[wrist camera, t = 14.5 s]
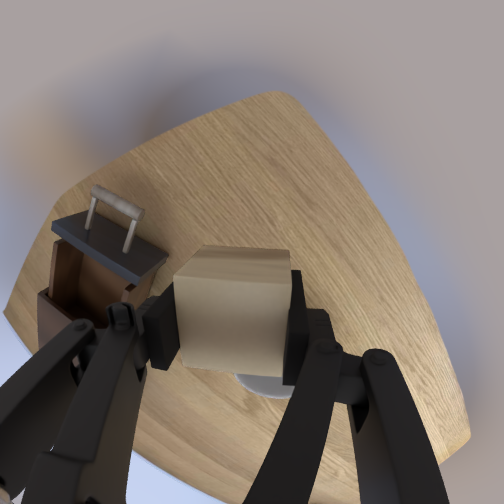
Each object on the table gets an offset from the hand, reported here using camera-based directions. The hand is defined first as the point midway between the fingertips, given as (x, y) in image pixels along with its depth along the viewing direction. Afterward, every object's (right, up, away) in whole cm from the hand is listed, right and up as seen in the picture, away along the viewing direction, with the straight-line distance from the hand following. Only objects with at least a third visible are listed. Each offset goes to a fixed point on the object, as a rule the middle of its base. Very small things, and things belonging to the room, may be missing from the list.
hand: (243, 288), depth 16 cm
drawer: (-18, 0, +19) cm, 26 cm away
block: (0, 0, 0) cm, 0 cm away
